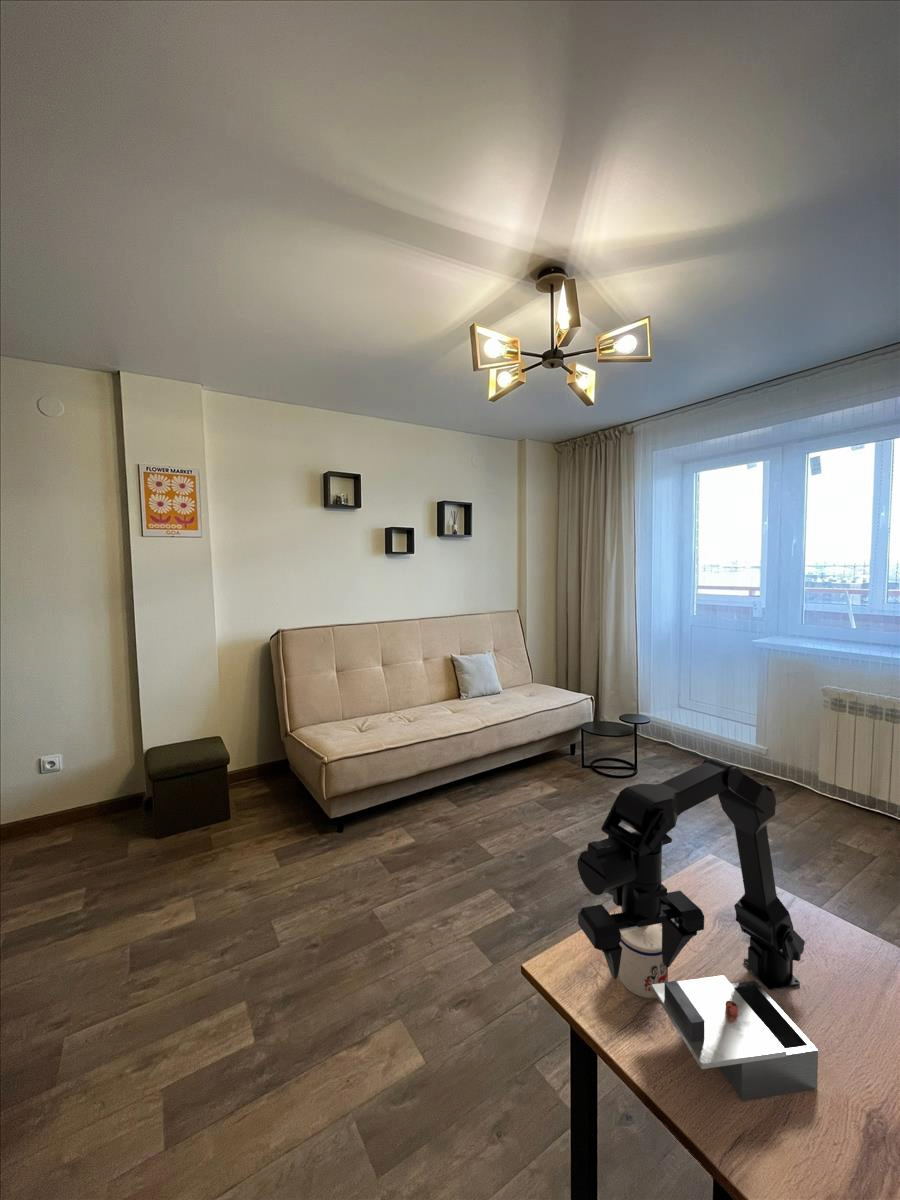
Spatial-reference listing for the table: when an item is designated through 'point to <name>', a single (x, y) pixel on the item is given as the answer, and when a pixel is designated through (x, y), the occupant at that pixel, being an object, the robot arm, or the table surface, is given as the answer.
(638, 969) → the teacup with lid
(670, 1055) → the table surface
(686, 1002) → the box lid
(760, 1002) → the metal box
